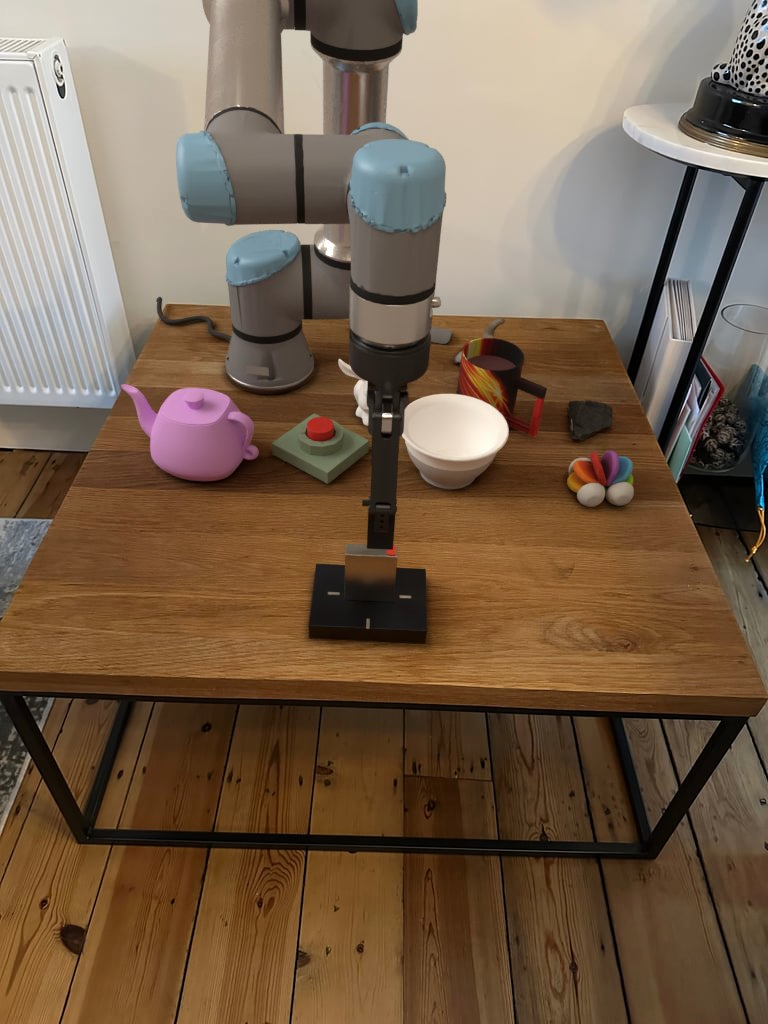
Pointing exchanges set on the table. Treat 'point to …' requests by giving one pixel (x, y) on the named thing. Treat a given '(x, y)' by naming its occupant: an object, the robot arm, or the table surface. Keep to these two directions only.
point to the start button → (320, 429)
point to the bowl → (453, 438)
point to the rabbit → (358, 392)
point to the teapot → (196, 433)
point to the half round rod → (440, 335)
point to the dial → (370, 573)
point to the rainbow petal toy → (602, 479)
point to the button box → (320, 450)
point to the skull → (486, 333)
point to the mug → (499, 380)
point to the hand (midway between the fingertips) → (381, 503)
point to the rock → (588, 418)
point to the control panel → (368, 609)
